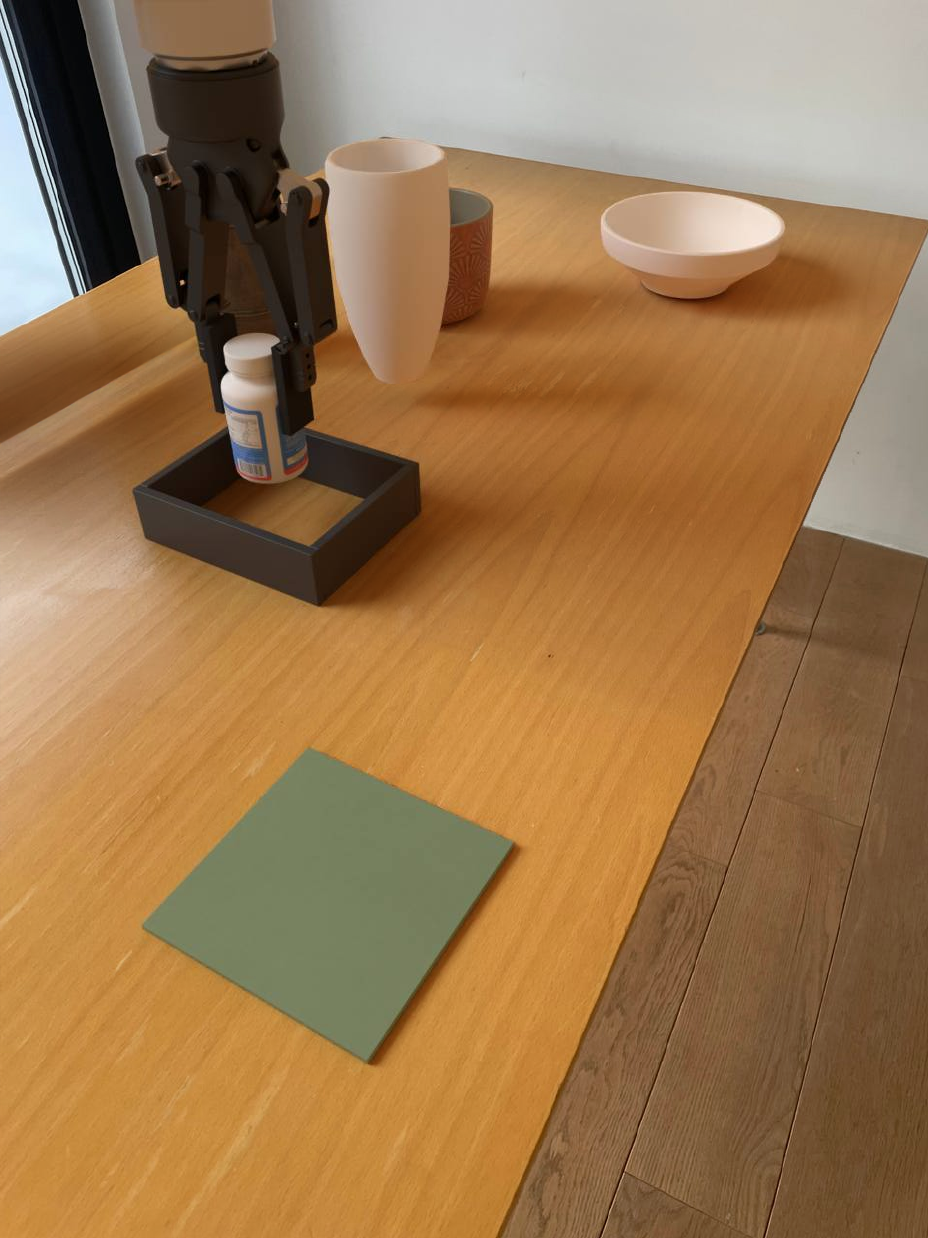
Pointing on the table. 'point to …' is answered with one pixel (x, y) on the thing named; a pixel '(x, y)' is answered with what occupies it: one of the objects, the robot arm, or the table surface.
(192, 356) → the table surface
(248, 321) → the container
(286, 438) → the pill bottle
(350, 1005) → the mat
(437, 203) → the cup
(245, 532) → the frame
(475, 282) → the planter
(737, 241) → the bowl
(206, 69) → the robot arm
